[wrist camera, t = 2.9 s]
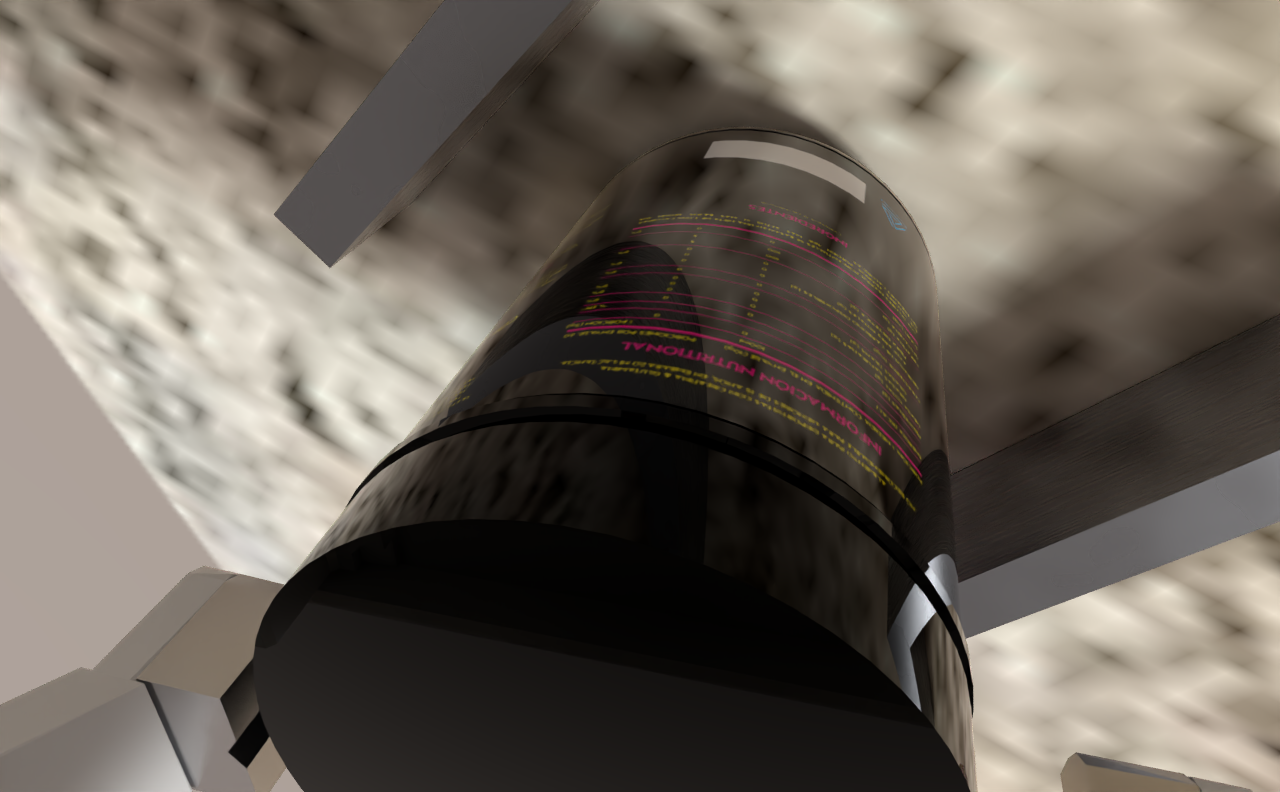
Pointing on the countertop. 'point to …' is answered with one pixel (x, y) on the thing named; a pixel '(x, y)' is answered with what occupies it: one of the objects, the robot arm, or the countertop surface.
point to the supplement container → (659, 516)
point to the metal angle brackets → (981, 494)
